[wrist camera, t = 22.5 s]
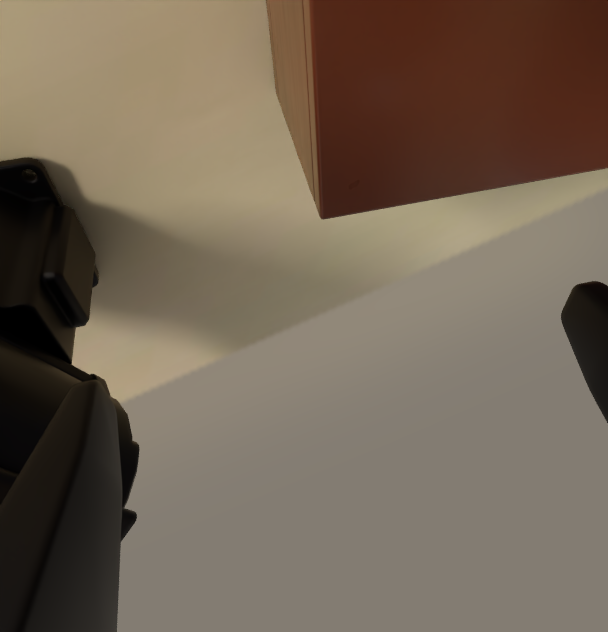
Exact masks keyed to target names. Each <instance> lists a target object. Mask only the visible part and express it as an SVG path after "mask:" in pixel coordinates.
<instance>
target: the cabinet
mask: <svg viewBox="0 0 608 632" xmlns="http://www.w3.org/2000/svg"><path fill="white" fill-rule="evenodd" d="M266 3H267V12H268V22H269V31H270V40H271V49H272V59H273V68H274V77H275V87H276V94H277V97H278V100H279V103H280V106H281V108H282V111H283V114H284V117H285V120H286V123H287V125H288V128H289V131H290V134H291V137H292V140H293V142H294V145H295V148H296V151H297V154H298V157H299V159H300V162H301V165H302V168H303V171H304V174H305V176H306V179H307V182H308V185H309V188H310V191H311V193H312V196H313V199H314V201H315V204H316V207H317V210H318V213H319V216H320V218H321V219H328V218H334V217H339V216H345V215H351V214H356V213H362V212H367V211H373V210H378V209H384V208H389V207H395V206H400V205H406V204H412V203H417V202H423V201H428V200H434V199H439V198H445V197H450V196H456V195H461V194H467V193H473V192H478V191H484V190H489V189H495V188H500V187H506V186H511V185H517V184H522V183H528V182H534V181H539V180H545V179H550V178H556V177H561V176H567V175H572V174H578V173H583V172H589V171H595V170H600V169H606V168H608V0H266Z"/></svg>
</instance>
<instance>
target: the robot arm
mask: <svg viewBox="0 0 608 632" xmlns="http://www.w3.org/2000/svg"><path fill="white" fill-rule="evenodd" d="M26 169H28V170H32V171H34V172H35V173H36V175H29V174H26V172H25V171H24V170H26ZM94 263H95V252H94V250H93V248H92V246H91V244H90V242H89V240H88V238H87V236H86V234H85V232H84V230H83V228H82V226H81V224H80V222H79V220H78V218H77V216H76V214H75V212H74V210H73V209H72V208H70V207H69V206H67V205H64V204H63V202H62V200H61V198H60V196H59V194H58V192H57V190H56V189H55V187H54V185H53V183H52V181H51V179H50V177H49V175H48V173H47V171H46V169H45V167H44V166H43V164H42V163H41V162H39V161H38V160H36V159H33V158H19V159H13V160H7V161H1V162H0V632H117V613H118V590H119V567H120V545H121V544H120V543H121V541H122V540H123V538H124V537H125V535H126V534H127V533H128V531H129V530H130V528H131V527H132V526H133V524H134V523H135V521H136V518H137V514H136V513H135V512H134V511H131V510H128V509H125V508H124V507H125V505H126V503H127V501H128V498H129V495H130V492H131V489H132V485H133V482H134V478H135V476H136V472H137V465H138V457H139V445H138V444H137V442H134V441H132V434H131V429H130V424H129V419H128V415H127V413H126V412H125V410H124V409H123V408H122V406H121V405H120V403H119V402H118V401H117V400H116V399H114V398H112V397H111V396H110V393H109V390H108V387H107V384H106V381H105V380H104V379H102V378H100V377H98V376H97V375H95V374H90V375H89V374H87V373H85V372H84V371H82V370H80V369H78V368H76V367H74V366H73V365H71V364H72V356H73V347H74V338H75V330H76V327H80V326H85V325H86V323H87V322H88V320H89V316H90V305H91V295H92V288H93V287H95V286H96V285H97V284H98V280H99V274H98V271H97V269H96V267H95V265H94ZM561 320H562V324H563V327H564V329H565V332H566V334H567V337H568V339H569V342H570V344H571V346H572V349H573V351H574V354H575V356H576V359H577V361H578V363H579V366H580V368H581V371H582V373H583V375H584V378H585V380H586V383H587V385H588V387H589V389H590V391H591V393H592V395H593V397H594V399H595V401H596V402H597V404H598V406H599V408H600V410H601V412H602V414H603V415H604V417H605V419H606V421H607V423H608V286H607V285H605V284H603V283H601V282H597V281H592V282H587V283H582V284H578V285H576V286H575V287H574V288H573V289H572V291H571V294H570V295H569V297H568V300H567V302H566V304H565V306H564V308H563V310H562V313H561Z"/></svg>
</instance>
